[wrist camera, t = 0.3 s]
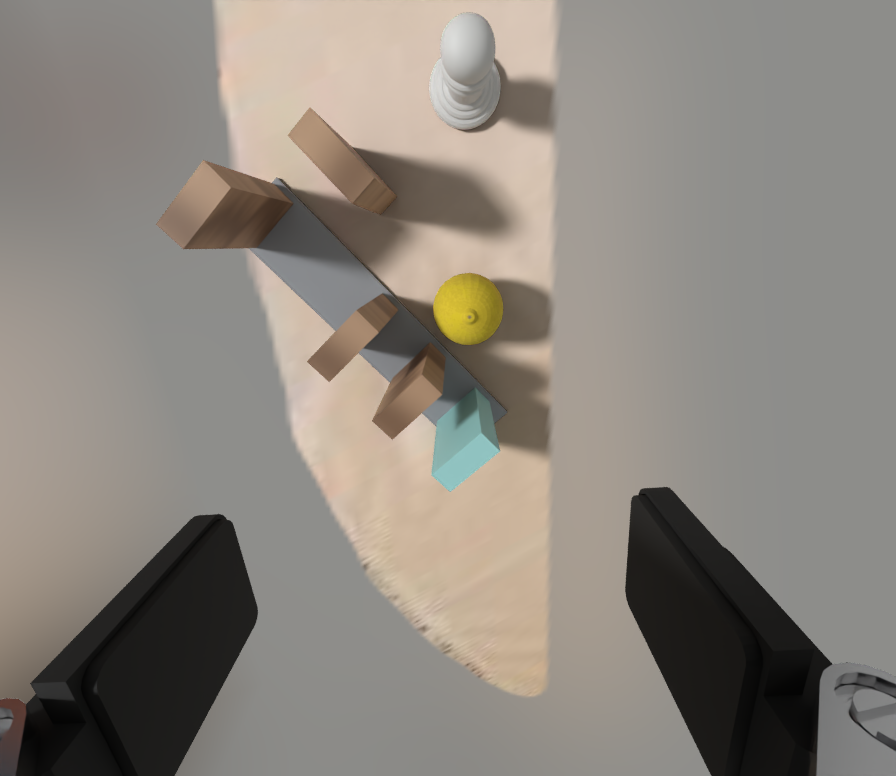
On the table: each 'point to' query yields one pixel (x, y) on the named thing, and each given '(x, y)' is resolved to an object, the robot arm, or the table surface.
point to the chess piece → (465, 73)
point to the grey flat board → (356, 300)
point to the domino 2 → (341, 163)
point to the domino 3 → (352, 336)
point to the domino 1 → (223, 210)
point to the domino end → (464, 440)
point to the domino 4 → (411, 391)
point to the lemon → (468, 309)
